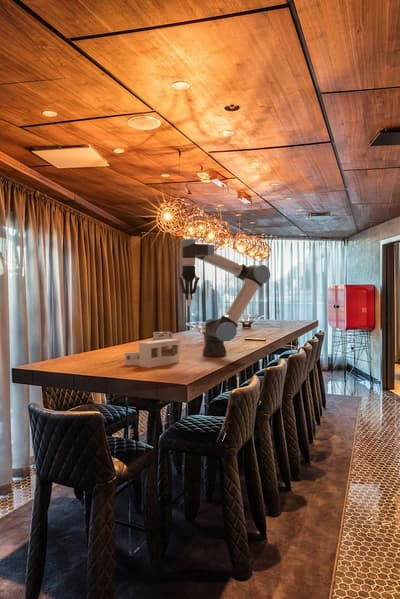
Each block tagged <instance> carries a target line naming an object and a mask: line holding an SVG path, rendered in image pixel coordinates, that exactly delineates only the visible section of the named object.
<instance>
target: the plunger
mask: <svg viewBox="0 0 400 599" xmlns="http://www.w3.org/2000/svg"><path fill="white" fill-rule="evenodd" d="M156 356H157V348H152V349H151V357H156Z"/></svg>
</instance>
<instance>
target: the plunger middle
mask: <svg viewBox="0 0 400 599" xmlns="http://www.w3.org/2000/svg"><path fill="white" fill-rule="evenodd" d="M162 356H169V357H170V356H175V348H173V347H162Z"/></svg>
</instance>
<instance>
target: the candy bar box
mask: <svg viewBox="0 0 400 599" xmlns="http://www.w3.org/2000/svg"><path fill="white" fill-rule="evenodd" d="M164 339H173V332H172V331H153V332H152V341H156V340H164Z"/></svg>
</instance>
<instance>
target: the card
mask: <svg viewBox="0 0 400 599" xmlns="http://www.w3.org/2000/svg"><path fill="white" fill-rule="evenodd" d="M124 366H139V351H137V352H136V351H134V352H131V351H130V352H124Z"/></svg>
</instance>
